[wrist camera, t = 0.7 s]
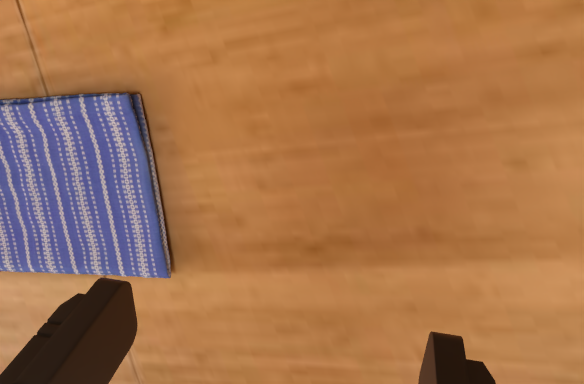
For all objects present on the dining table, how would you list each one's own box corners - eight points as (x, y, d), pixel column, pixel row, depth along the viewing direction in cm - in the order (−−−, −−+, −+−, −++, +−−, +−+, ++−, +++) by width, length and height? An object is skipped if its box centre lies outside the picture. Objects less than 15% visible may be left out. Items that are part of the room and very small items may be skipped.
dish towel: (-75, 102, 47) (-104, 107, 45) (143, 85, 41) (123, 89, 38) (-24, 265, 52) (-48, 278, 50) (177, 273, 46) (162, 288, 43)
